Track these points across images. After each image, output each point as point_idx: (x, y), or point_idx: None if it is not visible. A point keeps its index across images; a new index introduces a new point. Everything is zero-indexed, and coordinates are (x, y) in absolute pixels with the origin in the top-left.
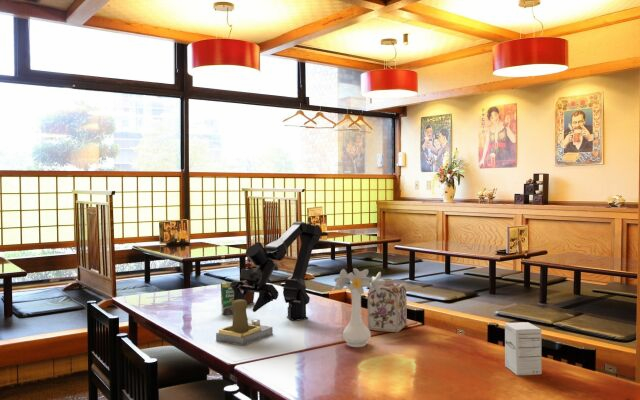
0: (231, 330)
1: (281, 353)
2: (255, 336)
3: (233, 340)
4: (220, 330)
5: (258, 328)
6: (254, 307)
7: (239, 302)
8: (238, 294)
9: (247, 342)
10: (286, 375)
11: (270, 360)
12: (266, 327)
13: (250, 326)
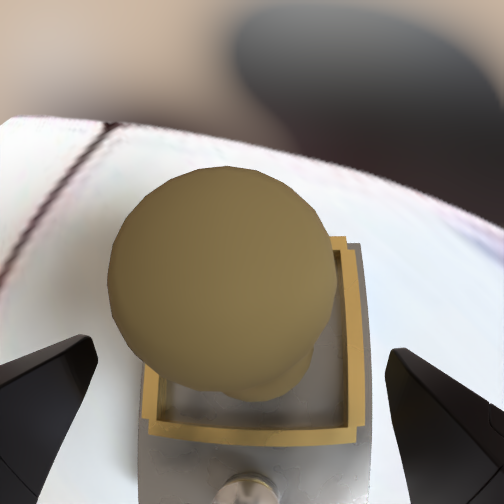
0: (327, 336)
1: (18, 259)
2: None
3: None
4: (331, 237)
5: (144, 400)
6: (57, 344)
7: (159, 187)
8: (489, 495)
9: None
10: (3, 159)
11: (33, 197)
12: (163, 493)
13: (231, 428)
